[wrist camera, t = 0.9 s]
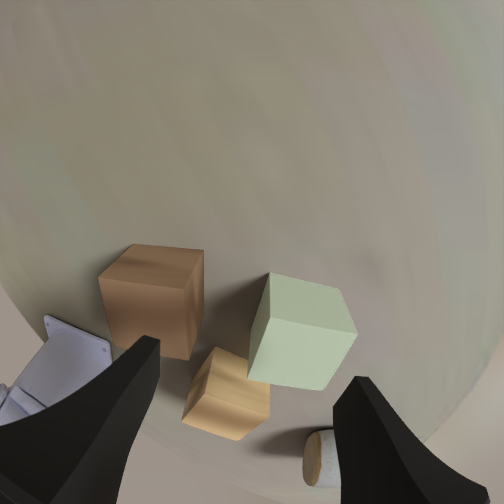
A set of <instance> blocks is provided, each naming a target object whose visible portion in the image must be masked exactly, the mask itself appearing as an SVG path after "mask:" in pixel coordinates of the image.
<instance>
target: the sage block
mask: <svg viewBox="0 0 504 504" xmlns="http://www.w3.org/2000/svg"><path fill="white" fill-rule="evenodd" d="M357 335H358V333H357V330H356V328H355V326H354V323H353V321H352V318H351V316H350V313H349V311H348V308H347V306H346V304H345V301H344V299H343V297H342V294H341V292H340V290H339V289H337V288H333V287H329V286H324V285H320V284H316V283H312V282H308V281H303V280H299V279H295V278H291V277H287V276H283V275H279V274H274V273H269V276H268V279H267V282H266V285H265V288H264V291H263V294H262V298H261V301H260V304H259V307H258V310H257V313H256V316H255V319H254V322H253V325H252V328H251V334H250V346H249V358H248V370H247V380H253V381H258V382H264V383H269V384H275V385H282V386H288V387H295V388H303V389H311V390H320V391H323V389H324V388H325V386H326V385H327V383H328V382H329V380H330V379H331V377H332V376H333V374H334V373H335V371H336V370H337V368H338V367H339V365H340V363H341V362H342V360H343V359H344V357H345V355H346V354H347V352H348V350H349V349H350V347H351V345H352V344H353V342H354V340H355V338H356V337H357Z"/></svg>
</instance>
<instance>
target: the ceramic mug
mask: <svg viewBox="0 0 504 504" xmlns="http://www.w3.org/2000/svg"><path fill="white" fill-rule="evenodd" d="M302 468H303V478H304V481H305V482H306V484H307V485H309V486H313V487H320V488H329V487H341V477H340V469H339V462H338V456H337V450H336V443H335V437H334V430H322V431H317V432H314V433H312V434H311V435H310V436H309V437H308V439H307V441H306V444H305V448H304V454H303V467H302Z"/></svg>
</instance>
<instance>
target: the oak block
mask: <svg viewBox="0 0 504 504" xmlns="http://www.w3.org/2000/svg"><path fill="white" fill-rule="evenodd" d="M247 370H248V360H247V359H244V358H242V357H239V356H237V355H235V354H232V353H230V352H228V351H226V350H223V349H221V348H219V347H217V346H215V347H214V349H213V350H212V351H211V353H210V354H209V356H208V357H207V359H206V360H205V362H204V363H203V364H202V366H201V367H200V369H199V370H198V372H197V373H196V374H195V376H194V377H193V379H192V383H191V386H190V390H189V394H188V397H187V401H186V405H185V408H184V412H183V416H182V420H181V422H183V423H186V424H188V425H191V426H194V427H196V428H199V429H202V430H205V431H208V432H211V433H214V434H217V435H220V436H223V437H226V438H229V439H233V440H236V441H238V440H239V439H241V438H242V437H244V436H245V435H246V434H248V433H249V432H250V431H252V430H253V429H254V428H255V427H257V426H258V425H259V424H260V423H262V422H263V421H264V420H266V419H267V418H268V417H269V416H270V384H269V383H264V382H258V381H253V380H247Z"/></svg>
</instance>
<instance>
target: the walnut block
mask: <svg viewBox="0 0 504 504" xmlns="http://www.w3.org/2000/svg"><path fill="white" fill-rule="evenodd" d="M98 281H99V286H100V291H101V295H102V300H103V304H104V309H105V313H106V317H107V321H108V325H109V329H110V332H111V336H112V339H113V343H114V346H115V347H119V348H124V349H129V348H130V347H131V346H132V345H133V344H134V343H135V342H136V341H137V340H138V339H139V338H140V337H141V336H143V335H147V336H150V337H153V338H157V339H160V340H161V341H160V356H163V357H169V358H175V359H181V360H187V361H189V359H190V356H191V353H192V350H193V347H194V344H195V340H196V337H197V334H198V331H199V328H200V325H201V322H202V319H203V316H204V250H197V249H186V248H174V247H163V246H152V245H141V244H133V245H132V246H131V247H130V248H128V249H127V250H126V251H125V252H124V253H123V254H122V255H121V256H120V257H119V258H118V259H117V260H115V261H114V262H113V263H112V264H111V265H110V266H109V267H108V268H107V269H106V270H105V271H104V272H103V273H102V274H101V275H100V276H99V277H98Z"/></svg>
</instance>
